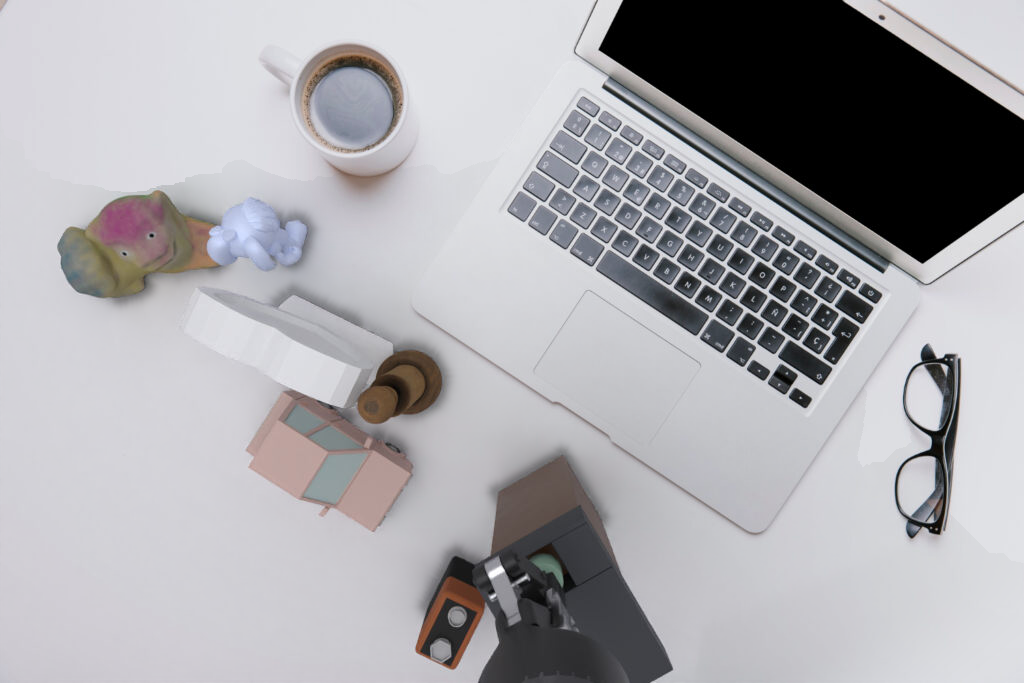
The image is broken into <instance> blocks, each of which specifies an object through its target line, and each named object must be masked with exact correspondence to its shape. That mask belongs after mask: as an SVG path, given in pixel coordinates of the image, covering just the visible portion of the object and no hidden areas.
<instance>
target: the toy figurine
mask: <svg viewBox="0 0 1024 683" xmlns="http://www.w3.org/2000/svg"><path fill="white" fill-rule="evenodd" d="M221 217H222V219H221V223H220V225H216V226H215V227H213V228H212V229H211V230H210V231H209V235H210V236H212V237H211V238H210V239H209V240H208V242H207V251H208V254H209V256H210V257H211V258H212V260H214V261H215V262H216V263H218V264H220V265H221V266H229V265H232V264H234V263H235V262H237V261H238V259H239V258H243V259H249V260H250V261H251V263H252V264H253V265H254V267H256V269H258V270H259V271H262V272H270V271H272V270H274V269H275V268H276V266H277V264H276V263H275V262H274V259H272V257H271V256H273V257H274V258H275V260H277V261H278V262H279V263H280V264H281V265H283V266H287V267H288V266H292V265H294V264H296V263H297V262H298V261H299V260H300V259H301V258H302V254H303V250H302V248H303V246H304V243H305V242H306V236H307V233H308V227H307V225H306V224H305V223H303V221H302V220H300V219H295V220H289V221H287V222H286V224H285V227H284V229H283V228H281V221H280V220H279V219H278V214H277V212H276V211H275V209H274V207H273V206H271V205H269V204H268V203H267V202H265V201H263V200H261V199H259V198H255V197H252V196H248V197H247V198H246V199H245V200H244V201H243V202H242V203H238V204H235V205H232V206H231V207H229V208H227V210H226V211H225V213H224V214H223V215H221ZM220 265H219V266H220Z"/></svg>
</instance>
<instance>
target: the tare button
mask: <svg viewBox="0 0 1024 683" xmlns="http://www.w3.org/2000/svg"><path fill="white" fill-rule="evenodd" d="M529 561H531V562H532V563H533V564H535V565H536V566H538V567H539V568H540V570H541V571H543V570H545V572H546V574H547V573H549V572H553V573H554V575H555V576H556V578H557V580H558V581H559V583H560V585H561V586H562V588H563V574H562V568H561V565H560V563H559V561H558V560H557V559H556V558H555V557H554V556H552V555H550V554H546V553H541V554H537V555H535V556H533V557H532V558H531V559H530V560H529Z"/></svg>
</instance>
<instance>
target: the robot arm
mask: <svg viewBox="0 0 1024 683" xmlns="http://www.w3.org/2000/svg"><path fill="white" fill-rule="evenodd" d="M472 574H473V580H474V582H475V584H476V586H478V587H479V589H480V590H481V591H483V592H485V593H487V594H488V596H489V599H490V600H491V601H492V602H493V601H495V600H497V599H498V600H499V603H500V605H501V608H502V609H501V610H500V611H499V612H498V613H497V615H496V618H495V617H494V628H495V632H496V635H497V640H498V644H497V646H496V648H495V649H494V651H493V653H492V654H491V655H490V657H489V659H488V661H487V662H486V664H485V666H484V667H483V670H482V671H481V674H480V676H479V679H478V681H477V683H630V682H629V680H628V677H627V675H626V673H625V671H624V669H623V667H622V666H621V664H620V663H619V661H618V660H617V659H616V658H615V656H614V655H613V654H612V653H611V652H610V651H609V650H608V649H607V648H606V647H604V646H603V645H602V644H601V643H599V642H597V641H596V640H594V639H593V638H591V637H589V636H587V635H584V634H582V633H580V631H579V630H578V628H577V627H575V620H574V618H573V617H572V616H570V615H569V613H568V611H567V606H566V600H565V593H564V590H563V588H562V586H561V585H560V583H559V581H558V580H557V578H556V576H555V575H554V573H553V572H549V573H547V574H546V572H545V570H543V571H541V570H540V568H539V567H538V566H536V565H535V564H533V563H532V562H531V561H529V560H528V559H527V558H525V557H524V556H522V555H521V554H520V553H518V552H517V551H516V550H514V549H513V548H510V549H509V550H507V551H505V552H503V553H502V554H500V555H498V556H496V557H495V558H493V559H491V560H489V561H488V562H486V563H484V564H482V565H481V566H479V567H477V568H475V569H473V570H472Z"/></svg>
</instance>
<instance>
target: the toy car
mask: <svg viewBox="0 0 1024 683" xmlns="http://www.w3.org/2000/svg"><path fill="white" fill-rule="evenodd" d="M339 413H340V412H339V411H338V410H336V409H334V407H333V405H330V404H327V403H325V402H322V401H320V400H317V399H315V398H312V397H309V396H307V395H305V394H302V393H300V392H298V391H295V390H293V389H290V390H283V391H282V392H280V395H279V396H278V398H277V400H276V401H275V403H274V404H273V405H272V408H271V409H270V411H269V412H268V414H267V415H266V417H265V418H264V420H263V422H262V423H261V424H260V426H259V428H258V430H257V431H256V433H255V434H254V436H253V437H252V439H251V441H250V442H249V444H248V446H247V447H246V449H245V452H246V453H248V454H250V455H251V456H253V458H252V460H251V461H250V463H249V465H248V466H247V468H248V469H249V470H251V471H253V473H256V474H258V475H259V476H260V477H262V478H264V479H265V480H267V481H268V482H270V483H271V484H273V485H274V486H276V487H278V488H279V489H281V490H282V491H284V492H286V494H288V495H290V496H292V497H293V498H295V499H297V500H298V501H302V502H306V503H311V504H314V505H319V506H322V507H323V508H322V510H321V511H320V512H319V513H318V516H319V517H321V518H324V517H325V516H326V514H327V513H328V512H329V511H330V509H335V510H336V511H338V512H339V513H342V514H343V515H345V516H346V517H348V518H350V520H353V521H354V522H356V523H357V524H359V525H361V526H362V527H364V528H365V529H367V531H370V532H371V533H375V532H376V531H377V529H378V527H379V528H380V527H381V526H382V525H383V523H384V522H385V520H386V517H387V514H388V513H389V512H390V511H391V509H392V508H393V506H394V505H395V503H396V501H397V500H398V499H399V497H400V495H401V494H402V493H403V490H404V488H405V486H408V484H409V483H410V481H411V480H412V478H413V476H414V474H413V469H414V464H413V463H412V461H410V460H409V459H407V458H406V457H407V454H404V453H403V452H402V451H401V450H400V449H399V448H398V447H397V446H395V445H394V444H392V443H390V442H385V441H384V440H382V439H381V438H380V439H379V440H378V439H376V438H374V437H373V436H372V435H370V434H368V433H366V431H364V430H362V429H360V428H358V427H357V426H355V425H354V424H353V423H351V422H350V421H348V420H346V419H344V418H343V417H342V416H340V415H339Z"/></svg>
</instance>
